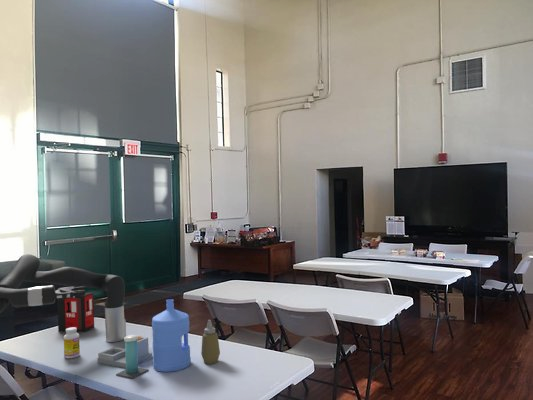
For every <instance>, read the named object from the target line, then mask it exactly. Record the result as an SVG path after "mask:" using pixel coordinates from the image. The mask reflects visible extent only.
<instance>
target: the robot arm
mask: <svg viewBox="0 0 533 400" xmlns="http://www.w3.org/2000/svg"><path fill="white" fill-rule="evenodd" d="M40 265H41V261H40V259H39V257H38V256H36V255H33V254H27V253H26V254H22V255H20V257H19V258H18V259H17V261H16V263H15V265H14V267H13V268H12V269H11V270H10V272H9V273H7V275H6V276H5V277H3V278H2V280H0V313H1V314H2V312H3V311H5V309H6V308H7V306H8V305H9V302H11V305H12V307H14V308H23V307H36V306H37V307H38V306H45V305H53V304H55V303H56V301H57V300H62V299H72V298H74V297H77V296H85V293H86V288H91V289H92V288H94V289H97V290H101V291H103V292H106V301H105V302H104V320H105V322H104V323H105V341H106V343H107V342H108V343H116V342H120V341H124V337H126V336H127V323H126V322H127V321H126V318H125V312H124V311H125V306H124V302H125V299H126V295H125V294H126V285H125V284H126V282H125V280H124V278H123V277H121V276H119V275H115V274H106V273H105V274H104V273H96V272H92V271H90V270H86V269H83V268H78V267H74V266H62V267H59V268H56V269H51V270H48V271H45V270H44V271H41V270H39V268H40ZM23 282H28V283H29V282H30V283H31V282H32V283H44V284H45V283H46V284H50V285H41V286H40V285H39V286H33V287H27V288H26V287H25V288H19V287H20V286H21V284H22V283H23ZM55 285H59V286H65V287H58V288H57V289H56V288H55Z"/></svg>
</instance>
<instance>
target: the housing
mask: <svg viewBox="0 0 533 400" xmlns="http://www.w3.org/2000/svg"><path fill="white" fill-rule="evenodd" d="M137 350H138V365H140V364H142V363H144V362H146V361H148V360H151V359H152V358H153V353H152V352H149V351H150V350H149V337H145V336H141V340H139V341H137ZM97 355H98V356H97V358H96V359H97V360H96V361H97V363H98V364H104V365H109V366H114V367H118V368H123V369H126V357H125V347H111V348H109V349H106V350H104V351H101V352H99V353H98V354H97Z"/></svg>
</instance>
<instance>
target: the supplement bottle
mask: <svg viewBox="0 0 533 400" xmlns="http://www.w3.org/2000/svg"><path fill="white" fill-rule="evenodd" d="M76 331H77V328H76V327H71V328H67V329H66V332H65V333H66V334H65V335H63V356H64V358H65V359H75V358H78V357H79V356H80V354H81V351H80V347H81V346H80V334H79V332H76Z"/></svg>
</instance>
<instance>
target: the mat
mask: <svg viewBox="0 0 533 400" xmlns="http://www.w3.org/2000/svg"><path fill="white" fill-rule="evenodd" d="M147 372H149V369H147V368H144V367H143V368H142V367H139V366H138V372H136V373H133V374H127V373H126V369H124V370H122V371H120V372H117V373H115V376H117V377H122V378H126V379H129V380H134V379H135V378H137V377H139V376H141V375H143V374H146V373H147Z"/></svg>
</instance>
